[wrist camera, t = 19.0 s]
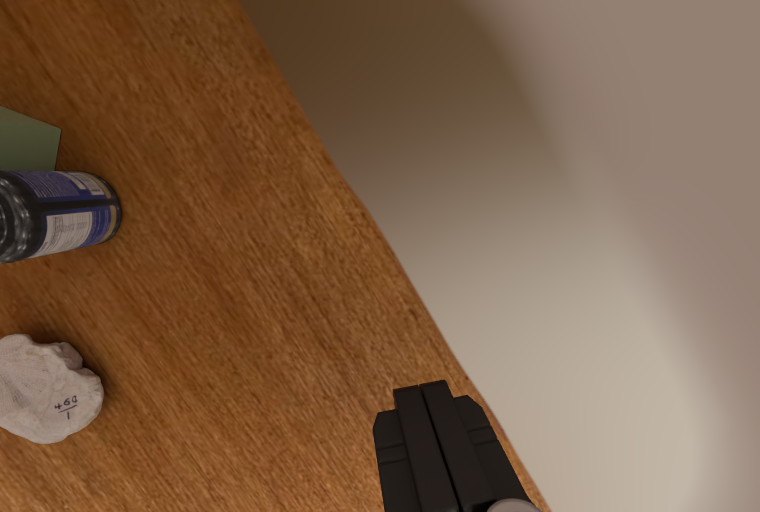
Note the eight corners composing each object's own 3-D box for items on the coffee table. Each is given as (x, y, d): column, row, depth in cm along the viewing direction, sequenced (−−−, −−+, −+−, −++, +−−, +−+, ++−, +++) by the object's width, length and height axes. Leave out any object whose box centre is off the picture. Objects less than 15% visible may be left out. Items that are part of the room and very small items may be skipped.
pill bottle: (46, 183, 33) (-136, 185, 22) (107, 161, 32) (-53, 152, 21) (76, 252, 34) (-86, 286, 23) (136, 233, 33) (-4, 259, 22)
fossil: (0, 315, 33) (49, 405, 29) (84, 313, 39) (132, 388, 35) (-48, 391, 34) (-8, 487, 30) (40, 379, 40) (82, 457, 36)
